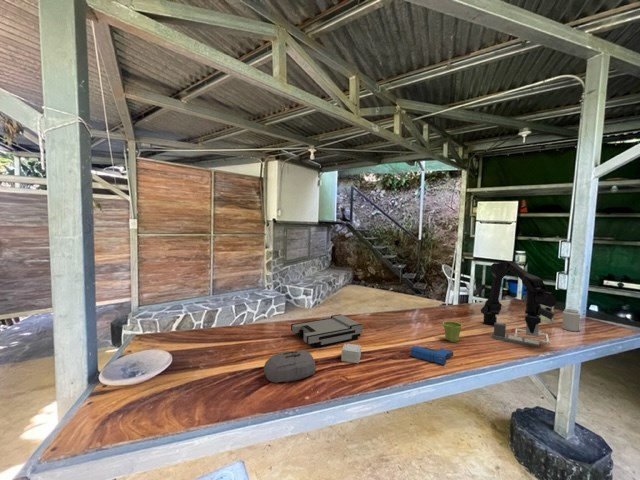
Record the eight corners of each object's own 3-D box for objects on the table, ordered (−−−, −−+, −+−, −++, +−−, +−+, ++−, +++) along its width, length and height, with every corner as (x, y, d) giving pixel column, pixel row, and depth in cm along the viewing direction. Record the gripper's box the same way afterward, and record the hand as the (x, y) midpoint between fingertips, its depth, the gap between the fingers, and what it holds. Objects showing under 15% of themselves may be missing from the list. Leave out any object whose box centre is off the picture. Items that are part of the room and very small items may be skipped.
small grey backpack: (305, 361, 121) (259, 370, 112) (305, 342, 120) (260, 350, 112) (319, 378, 107) (268, 389, 99) (319, 357, 106) (268, 367, 98)
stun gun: (420, 340, 138) (410, 347, 126) (453, 348, 129) (446, 357, 117) (419, 349, 138) (409, 357, 126) (453, 357, 129) (446, 367, 117)
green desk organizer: (532, 316, 191) (532, 296, 190) (550, 319, 186) (551, 298, 186) (536, 321, 181) (537, 299, 181) (556, 323, 177) (557, 301, 177)
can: (572, 328, 169) (572, 308, 168) (582, 332, 161) (583, 312, 161) (559, 327, 170) (559, 308, 169) (568, 331, 162) (569, 311, 162)
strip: (492, 338, 150) (492, 335, 150) (493, 333, 157) (494, 331, 157) (539, 348, 138) (539, 345, 138) (538, 342, 145) (538, 339, 145)
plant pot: (442, 342, 144) (443, 325, 144) (441, 335, 153) (442, 320, 153) (462, 344, 141) (463, 327, 141) (460, 338, 150) (460, 322, 150)
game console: (290, 337, 149) (291, 321, 149) (340, 327, 164) (340, 314, 164) (308, 351, 131) (308, 334, 131) (362, 339, 146) (362, 324, 146)
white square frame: (514, 337, 152) (514, 335, 152) (515, 329, 164) (515, 328, 164) (549, 343, 143) (549, 342, 143) (547, 335, 155) (547, 334, 155)
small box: (358, 363, 119) (359, 352, 119) (341, 361, 121) (341, 349, 121) (361, 356, 127) (361, 345, 127) (344, 353, 129) (344, 343, 129)
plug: (526, 334, 143) (526, 322, 143) (526, 331, 147) (526, 319, 147) (538, 336, 140) (538, 324, 140) (537, 334, 144) (538, 321, 144)
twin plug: (493, 335, 151) (494, 323, 151) (494, 332, 155) (495, 321, 155) (504, 337, 148) (505, 325, 148) (505, 334, 152) (505, 323, 152)
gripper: (554, 308, 130) (553, 341, 131) (552, 300, 145) (550, 330, 146) (525, 304, 137) (524, 335, 138) (525, 297, 152) (524, 325, 153)
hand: (531, 331), depth 143 cm, fingers closed on plug, 5 cm apart
